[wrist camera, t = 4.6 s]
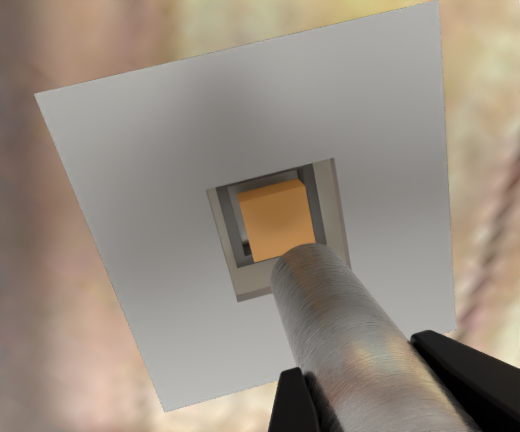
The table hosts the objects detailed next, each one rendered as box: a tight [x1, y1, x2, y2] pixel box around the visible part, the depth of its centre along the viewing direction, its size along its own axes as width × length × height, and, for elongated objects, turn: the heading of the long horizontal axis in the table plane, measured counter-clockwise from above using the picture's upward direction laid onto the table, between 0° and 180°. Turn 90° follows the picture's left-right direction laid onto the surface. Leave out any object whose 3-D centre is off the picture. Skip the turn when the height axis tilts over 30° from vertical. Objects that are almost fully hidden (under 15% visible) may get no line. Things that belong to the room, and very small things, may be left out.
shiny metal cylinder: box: [270, 243, 483, 432], centre depth 7 cm, size 2×2×10 cm
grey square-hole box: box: [34, 0, 456, 412], centre depth 17 cm, size 14×14×5 cm
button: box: [237, 179, 316, 262], centre depth 16 cm, size 3×3×1 cm
